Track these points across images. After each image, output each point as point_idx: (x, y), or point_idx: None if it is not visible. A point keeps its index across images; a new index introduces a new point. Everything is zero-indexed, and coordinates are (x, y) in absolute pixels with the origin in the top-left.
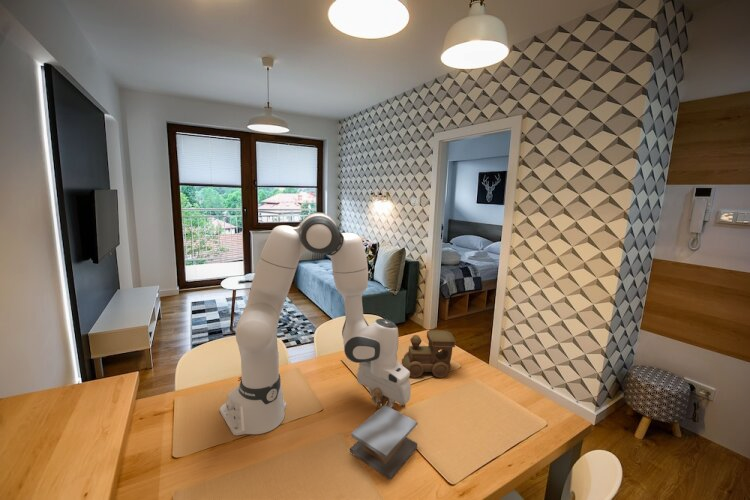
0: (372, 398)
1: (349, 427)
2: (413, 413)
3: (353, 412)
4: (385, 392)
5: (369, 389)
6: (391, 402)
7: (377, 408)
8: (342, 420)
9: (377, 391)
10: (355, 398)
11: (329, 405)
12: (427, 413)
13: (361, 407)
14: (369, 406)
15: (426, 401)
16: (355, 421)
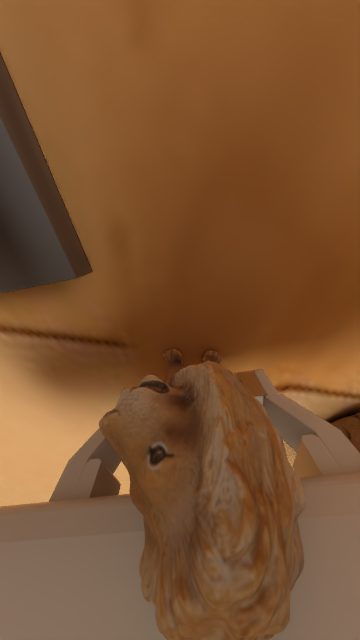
0: (211, 391)
1: (208, 22)
2: (94, 422)
3: (297, 221)
4: (76, 608)
5: (342, 442)
6: (81, 450)
7: (206, 352)
8: (328, 35)
9: (167, 626)
10: (354, 319)
11: None
12: (72, 445)
13: (280, 297)
14: (249, 334)
15: (123, 467)
16: (223, 158)
